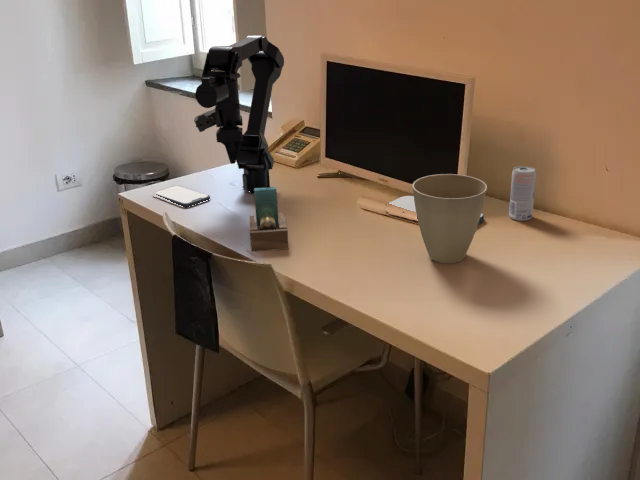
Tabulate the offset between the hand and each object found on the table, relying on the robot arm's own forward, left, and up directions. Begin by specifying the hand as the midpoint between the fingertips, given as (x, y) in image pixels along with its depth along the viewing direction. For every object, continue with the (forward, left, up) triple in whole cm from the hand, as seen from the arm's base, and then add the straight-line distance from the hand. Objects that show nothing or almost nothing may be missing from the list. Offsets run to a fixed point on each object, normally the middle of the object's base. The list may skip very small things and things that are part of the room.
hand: (232, 160), depth 174 cm
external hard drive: (-36, +36, -13) cm, 52 cm away
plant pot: (-23, +56, -12) cm, 62 cm away
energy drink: (-52, +49, -12) cm, 72 cm away
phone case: (+10, -14, -13) cm, 21 cm away
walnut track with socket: (+3, +23, -12) cm, 27 cm away
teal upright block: (+1, +21, -12) cm, 24 cm away
